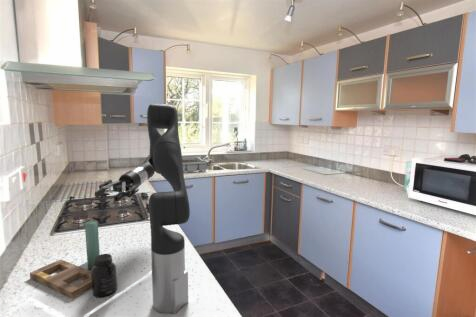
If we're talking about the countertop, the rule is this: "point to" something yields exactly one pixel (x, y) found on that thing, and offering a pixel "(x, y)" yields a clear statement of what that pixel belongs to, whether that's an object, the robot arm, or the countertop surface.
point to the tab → (85, 266)
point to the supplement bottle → (103, 276)
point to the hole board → (63, 278)
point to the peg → (92, 242)
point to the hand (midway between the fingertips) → (105, 197)
